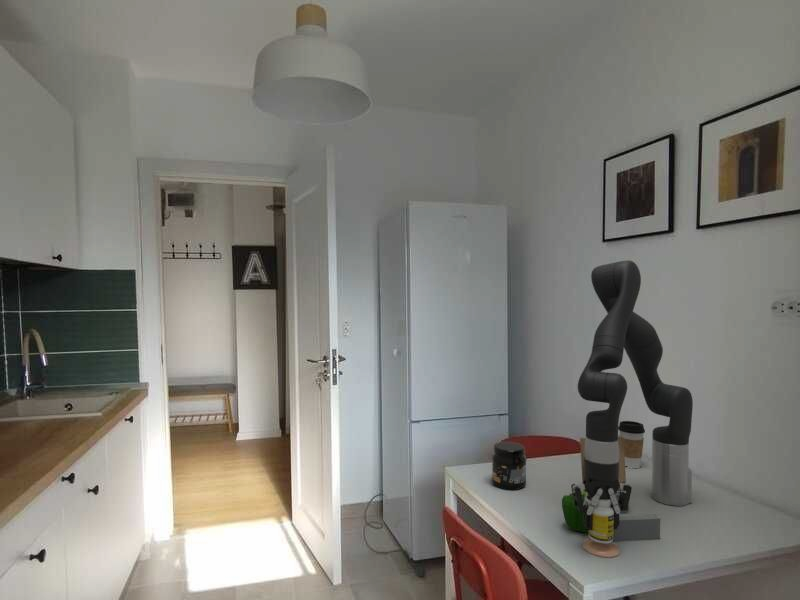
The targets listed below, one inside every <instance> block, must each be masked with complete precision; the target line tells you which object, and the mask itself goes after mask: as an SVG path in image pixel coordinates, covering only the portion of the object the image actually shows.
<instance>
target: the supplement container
mask: <svg viewBox="0 0 800 600" xmlns="http://www.w3.org/2000/svg"><path fill="white" fill-rule="evenodd" d="M525 454H526V448H525V446H524V445H523V444H522V443H519V442H514V441H499V442H496V443H495V444H494V445H493V454H492V455H491V460H492V464H491V465H492V467H491V470H492V472H491V474H492V476H491V481H492V483H493V485H495V486H496V487H498V488H501V489H503V490H512V491H513V490H520V489H523V488H524V487H525V486H526V484H527V456H526V455H525Z"/></svg>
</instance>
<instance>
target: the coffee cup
mask: <svg viewBox="0 0 800 600" xmlns="http://www.w3.org/2000/svg"><path fill="white" fill-rule="evenodd" d="M618 432H619V434H618V437H623V441H624V457H625V466H627V467H632V468H638V467H640V466H642V456H643V449H644V434H645V433H646V430H645V427H644V423H641V422H638V421H633V420H622V421H619V424H618ZM627 467H626V468H627ZM632 468H631V469H632ZM640 468H641V467H640ZM638 469H639V468H638Z"/></svg>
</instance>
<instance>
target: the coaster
mask: <svg viewBox="0 0 800 600" xmlns="http://www.w3.org/2000/svg"><path fill="white" fill-rule="evenodd" d="M582 547H583V549H584V550H585V551H586V552H588V553H589V554H591V555H593V556H595V557H599V558H605V559H608V558H609V559H611V558H616V557H618V556H619V555H620V553H621V549H620V547H619V545H617V544H616V543H614V541H612V542H611V543H607V544H604V543H598V542H595V541H593V540H592V539H591V538H590V537H589V538H586V539H584V540H583V542H582Z"/></svg>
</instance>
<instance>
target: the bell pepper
mask: <svg viewBox="0 0 800 600" xmlns="http://www.w3.org/2000/svg"><path fill="white" fill-rule="evenodd" d="M586 493H587V492H585V491H583V495H582V500H583V504H584V501H585V496H586ZM591 500H592V498H591ZM561 509H562V513H563V518H564V522H565V524H566V526H567V527H568V528H569V529H570V530H571V531H579V532H581V533H589V530H588V529H587V528H586V527H585V526H584V524H583V513H581V512H579V510H578V509H577V508H576V507H575V505H574V499H573V494H572V492H571V493H569V495H566V494H565V495H562V498H561Z"/></svg>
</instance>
